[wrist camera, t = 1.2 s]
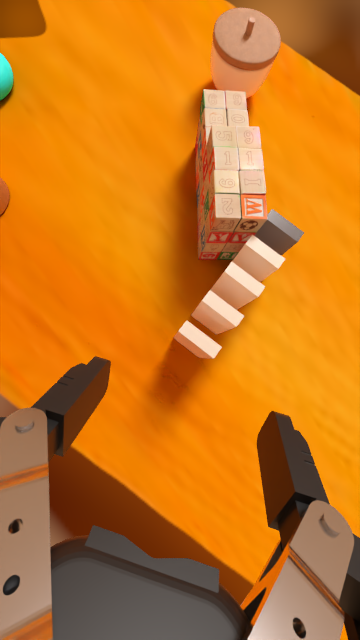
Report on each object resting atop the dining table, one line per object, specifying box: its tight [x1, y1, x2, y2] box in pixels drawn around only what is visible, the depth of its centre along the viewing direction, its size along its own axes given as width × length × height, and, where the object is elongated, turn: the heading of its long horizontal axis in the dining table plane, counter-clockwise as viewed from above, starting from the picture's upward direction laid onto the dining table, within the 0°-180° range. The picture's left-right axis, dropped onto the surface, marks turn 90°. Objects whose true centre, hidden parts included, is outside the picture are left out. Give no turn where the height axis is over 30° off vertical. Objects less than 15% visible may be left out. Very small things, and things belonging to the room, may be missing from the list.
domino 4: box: [191, 290, 244, 335], centre depth 32 cm, size 5×2×10 cm, turn 53°
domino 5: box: [174, 321, 222, 359], centre depth 32 cm, size 5×2×10 cm, turn 53°
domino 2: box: [232, 235, 285, 282], centre depth 34 cm, size 5×2×10 cm, turn 53°
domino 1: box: [254, 209, 304, 255], centre depth 35 cm, size 5×2×10 cm, turn 53°
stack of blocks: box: [195, 89, 268, 260], centre depth 35 cm, size 21×6×12 cm, turn 1°
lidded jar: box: [211, 8, 281, 99], centre depth 40 cm, size 11×11×9 cm
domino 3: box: [210, 262, 265, 310], centre depth 33 cm, size 5×2×10 cm, turn 53°
